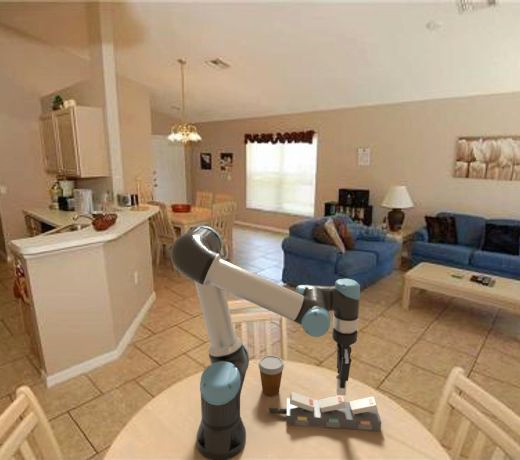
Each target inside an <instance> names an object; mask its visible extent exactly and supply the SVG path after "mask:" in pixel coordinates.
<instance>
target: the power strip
mask: <svg viewBox="0 0 520 460" xmlns="http://www.w3.org/2000/svg"><path fill="white" fill-rule="evenodd" d="M314 404H315V408H314V411H313V412H311V411H309V410H306V409H303V408H300V407H297V406H294V405H291V404H290V397H289V398H288V397H287V398H286V408H276V407H269V409H268V414H276V415H279V414H280V415H286V425H288V426H301V427H317V428H318V427H319V428H330V429H331V428H332V429H347V430H360V431H373V432H374V431H375V432H376V431H377V432H381V431H382V430H381V428H382V419H381V416H380V413H379V411H378V410H373V411H369V412H364V413H359V414H354V415H353V413H352V410H351V405H350V401H345V405H346V408H342V409H337V410H332V411H327V412H323V413H322V411H321V408H320V400H319V399H314Z"/></svg>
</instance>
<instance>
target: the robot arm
mask: <svg viewBox="0 0 520 460" xmlns="http://www.w3.org/2000/svg"><path fill="white" fill-rule="evenodd" d="M222 243H223V241H222V238H221V235H220V234H219V233H218V231H217V230H216V229H214V228H213V227H210V226H207V225H199V226H195V227H193V228H191V229H188V231H186V233H184V234H182V235H181V236H179V237H178V238H177V239H176V240H175V241H174V242H173V244H172V245H171V248H170V260H171V263H172V265H173V267H174V268H175V269H176V270H177V271H178V272H179V273H180V274H181V275H182V276H184V277H186V278H188V279H189V280H192V281H193V282H194V285H195V288H196V292H197V296H198V300H199V303H200V308H201V311H202V315H203V319H204V323H205V326H206V330H207V331H206V332H207V335H208V338H209V342H210V344H209V346H208V348H207V353H208V357H209V361H210V365H208V366H207V367H205V368H204V369H203V371H202V373H201V377H200V381H199V392H200V409H201V421H200V424H199V426H198V429H197V432H196V448H197V450H198V452H199V453H200V454H201V455H202V456H203V457H205V458H207V459H208V460H229V459H232V458H234V457H236V456H238V454H240V453H241V452H242V450H243V449H244V447H245V445H246V444H247V432H246V427H245V425H244V422H243V419H242V417H241V393H242V389H243V386H244V382H245V377H246V375H247V371H248V368H249V364H250V354H249V351H248V348H247V347H246V346H245V344H243V340H242V339H241V338H240V337H238V336H237V335H236V331H235V327H234V324H233V323H234V322H233V318H232V315H231V310H230V308H229V302H228V298H227V293H229V294H232V295H234V296H236V297H238V298H241V299H243V300H245V301H247V302H249V303H252V304H254V305H255V306H258V307H260V308H263V309H265V310H268V311H269V312H272V313H274V314H277V316H278V315H279V316H281V317H283V318H285V319H287V320H290V321H293V322H294V323H296V324H298V325H300V326H301V327H302V330H303V331H304V333H306V334H307V336H310V337H314V338H320V337H323V336H325V335H326V334H327V333H328V331H330V328H331V314H330V312H333V315H332V316H333V317H332V340H333V342H335V343H336V350H337V351H336V352H337V353H336V354H337V355H336V369H337V372H336V373H337V375H336V380H337V381H336V396H338V395H343V397H345V396H346V395H347V393H346V392H347V382H349V376H350V370H351V369H350V368H351V364H352V358H351V353H352V347H351V346H352V345H353V344H356V343H357V340H358V328H359V327H358V326H359V324H358V323H359V322H361V319H360V318H359V312H360V311H359V310H360V301H361V284H360V283H359V282H358V281H356V280H354V279H351V278H340V279H337V280H336V281H335V283H334V285H329V286H328V285H315V284H314V285H313V284H299V285H297V286H296V288H295V291H294V290H291V289H290V288H287V287H285V286H283V285H280V284H279V283H276V282H273V281H271V280H269V279H267V278H265V277H262V276H260V275H258V274H255V273H254V272H251V271H249V270H247V269H244V268H243V267H240V266H238V265H236V264H233V263H232V262H230V261H227V260H225V259H223V258H222V254H221V251H222V247H223V244H222ZM226 292H227V293H226Z"/></svg>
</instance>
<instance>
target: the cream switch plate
mask: <svg viewBox="0 0 520 460" xmlns="http://www.w3.org/2000/svg"><path fill="white" fill-rule="evenodd" d="M318 400H320V408H321V411H322V413H323V412H327V411H332V410H337V409H342V408H346V405H345V402H346V401H345V396H343V395H335V396H333V395H332V396H330V397H325V398H321V399H318Z"/></svg>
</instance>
